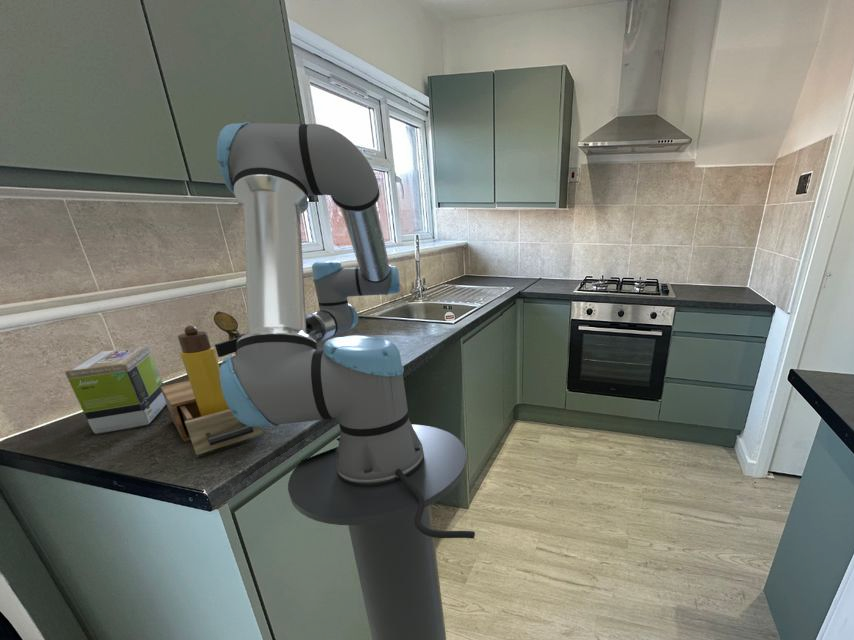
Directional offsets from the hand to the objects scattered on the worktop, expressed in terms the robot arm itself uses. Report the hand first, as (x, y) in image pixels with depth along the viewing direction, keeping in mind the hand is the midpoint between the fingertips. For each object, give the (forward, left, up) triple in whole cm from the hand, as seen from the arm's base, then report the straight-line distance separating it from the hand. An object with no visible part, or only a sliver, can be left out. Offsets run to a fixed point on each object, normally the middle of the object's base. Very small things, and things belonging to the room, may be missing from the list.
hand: (242, 352), depth 88 cm
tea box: (+24, +20, -16) cm, 35 cm away
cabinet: (+7, +8, -16) cm, 19 cm away
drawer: (-6, +8, -15) cm, 18 cm away
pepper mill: (-5, +8, -14) cm, 16 cm away
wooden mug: (+40, -8, -16) cm, 44 cm away
